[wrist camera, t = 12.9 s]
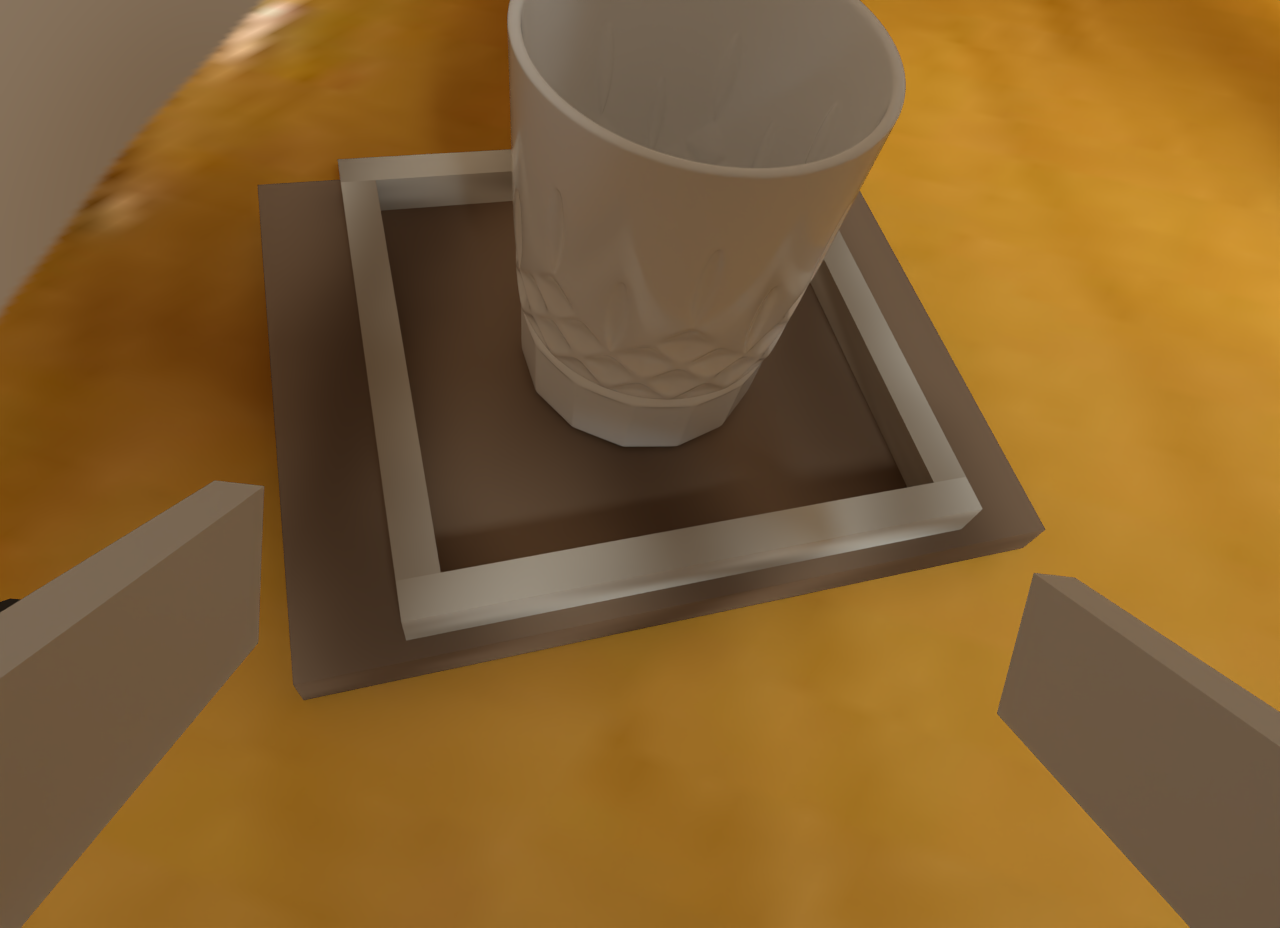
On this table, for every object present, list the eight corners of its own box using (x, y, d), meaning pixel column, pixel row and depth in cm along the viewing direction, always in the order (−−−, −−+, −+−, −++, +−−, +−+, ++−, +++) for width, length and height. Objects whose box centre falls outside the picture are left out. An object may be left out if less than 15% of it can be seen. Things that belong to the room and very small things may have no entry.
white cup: (445, 334, 24) (419, -9, 16) (639, 220, 28) (703, -110, 19) (635, 522, 22) (724, 241, 14) (820, 372, 26) (981, 75, 17)
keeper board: (825, 174, 32) (847, 120, 30) (1022, 547, 25) (1069, 509, 23) (266, 214, 27) (248, 153, 25) (303, 700, 20) (281, 668, 18)
